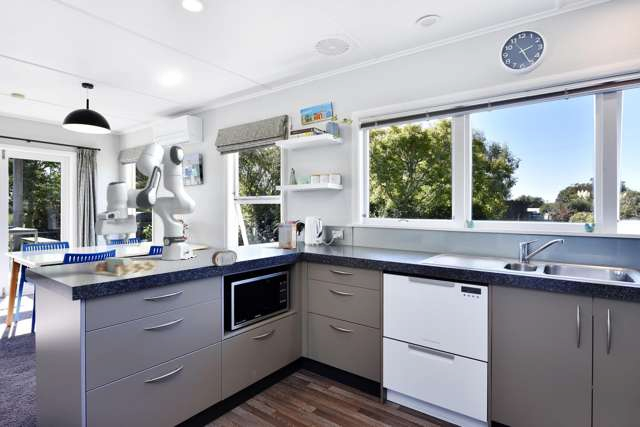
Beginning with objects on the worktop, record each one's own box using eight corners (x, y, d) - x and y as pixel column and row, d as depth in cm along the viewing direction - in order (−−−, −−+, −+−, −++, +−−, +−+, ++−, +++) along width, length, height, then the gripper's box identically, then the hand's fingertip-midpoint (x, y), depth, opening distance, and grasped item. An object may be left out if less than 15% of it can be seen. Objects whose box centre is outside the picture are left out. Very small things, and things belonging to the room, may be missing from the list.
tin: (234, 263, 197) (234, 249, 197) (237, 264, 195) (237, 249, 195) (211, 266, 186) (211, 251, 186) (214, 267, 184) (214, 251, 184)
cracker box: (296, 249, 280) (296, 223, 280) (292, 249, 275) (292, 223, 275) (282, 247, 287) (283, 223, 287) (278, 248, 282) (278, 223, 282)
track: (131, 266, 183) (132, 257, 183) (155, 268, 178) (155, 259, 178) (92, 273, 162) (92, 263, 162) (117, 276, 157) (117, 265, 157)
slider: (112, 269, 170) (112, 257, 170) (130, 270, 166) (130, 258, 166) (104, 270, 166) (104, 258, 166) (123, 271, 162) (123, 259, 162)
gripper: (130, 214, 176) (130, 241, 177) (92, 215, 157) (92, 245, 157) (140, 214, 174) (140, 241, 175) (102, 215, 155) (102, 245, 155)
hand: (117, 243), depth 166 cm, fingers open, 8 cm apart
